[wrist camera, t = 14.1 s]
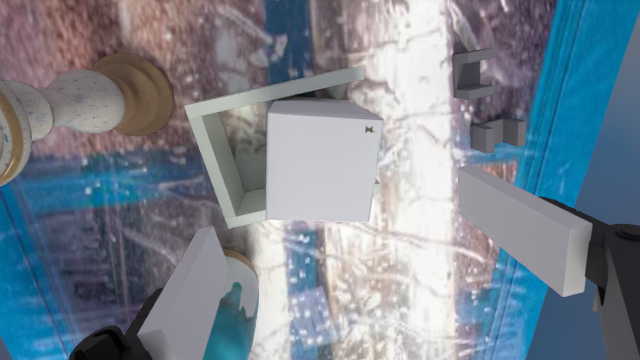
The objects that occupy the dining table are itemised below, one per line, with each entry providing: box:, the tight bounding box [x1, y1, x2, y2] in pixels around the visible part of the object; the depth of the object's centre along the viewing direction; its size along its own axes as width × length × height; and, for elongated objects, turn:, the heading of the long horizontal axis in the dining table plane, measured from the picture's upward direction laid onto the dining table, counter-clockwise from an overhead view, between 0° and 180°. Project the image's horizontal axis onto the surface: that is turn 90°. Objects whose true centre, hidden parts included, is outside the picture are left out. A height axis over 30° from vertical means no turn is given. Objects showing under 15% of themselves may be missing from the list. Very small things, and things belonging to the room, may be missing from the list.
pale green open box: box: [184, 66, 381, 229], centre depth 33 cm, size 17×13×7 cm
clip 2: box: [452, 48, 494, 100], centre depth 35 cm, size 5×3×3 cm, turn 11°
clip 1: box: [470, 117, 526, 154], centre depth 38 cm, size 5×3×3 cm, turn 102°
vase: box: [202, 249, 259, 360], centre depth 33 cm, size 11×11×19 cm
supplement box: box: [266, 96, 384, 223], centre depth 30 cm, size 9×9×15 cm
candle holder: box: [0, 53, 174, 187], centre depth 24 cm, size 9×9×20 cm
